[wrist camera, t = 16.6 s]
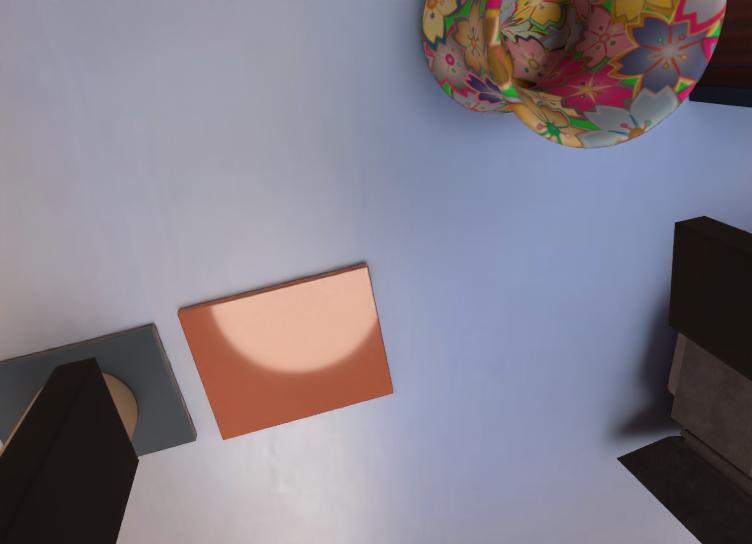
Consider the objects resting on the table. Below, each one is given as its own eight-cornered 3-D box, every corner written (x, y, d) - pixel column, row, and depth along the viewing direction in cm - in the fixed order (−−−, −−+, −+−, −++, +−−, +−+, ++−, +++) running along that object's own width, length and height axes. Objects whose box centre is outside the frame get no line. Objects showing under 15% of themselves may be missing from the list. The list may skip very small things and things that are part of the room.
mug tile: (178, 308, 32) (176, 313, 31) (366, 262, 33) (368, 266, 32) (223, 434, 35) (223, 440, 34) (391, 388, 36) (393, 393, 36)
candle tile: (-32, 369, 30) (-37, 375, 30) (154, 323, 32) (152, 328, 31) (30, 480, 34) (26, 487, 33) (197, 434, 35) (196, 441, 34)
